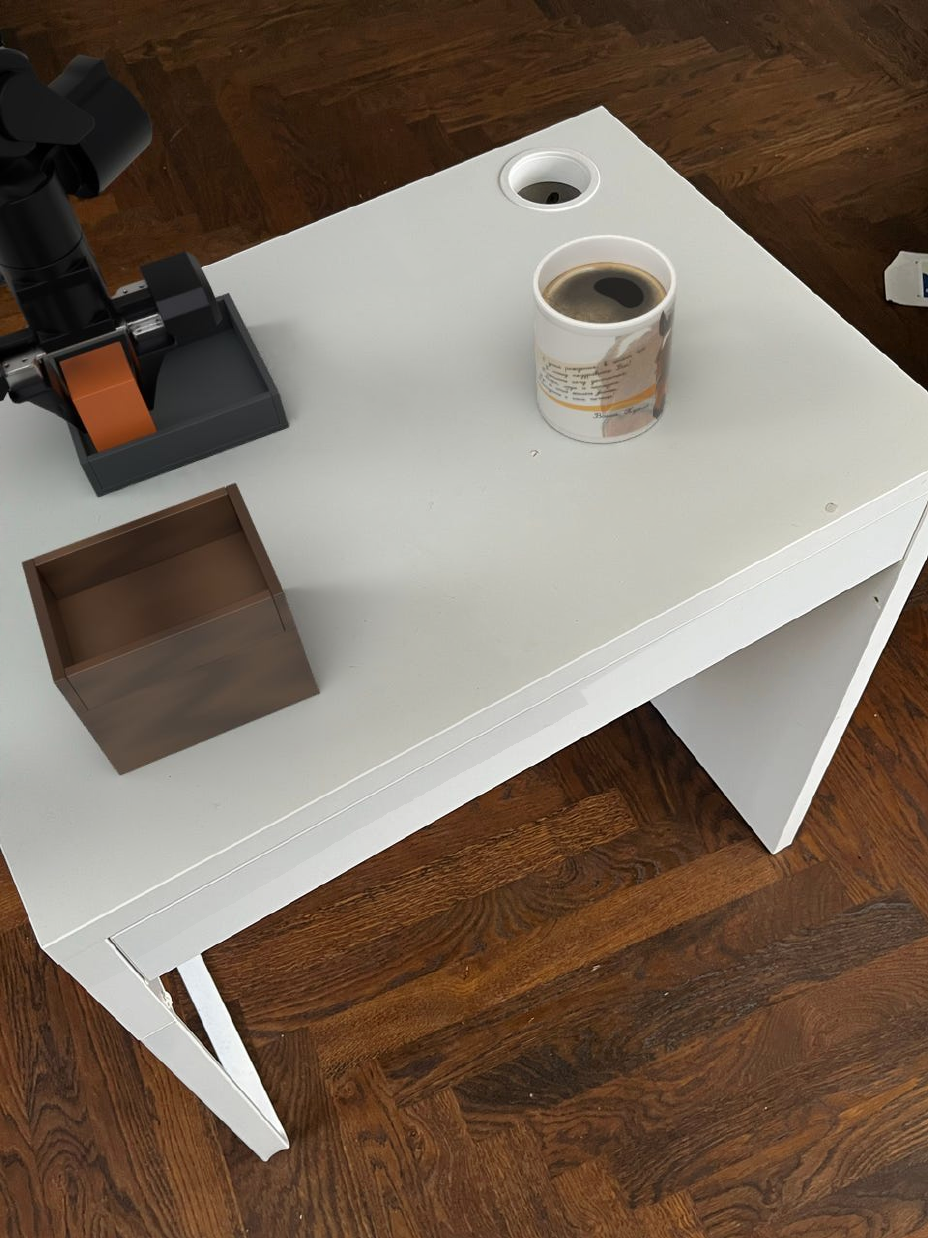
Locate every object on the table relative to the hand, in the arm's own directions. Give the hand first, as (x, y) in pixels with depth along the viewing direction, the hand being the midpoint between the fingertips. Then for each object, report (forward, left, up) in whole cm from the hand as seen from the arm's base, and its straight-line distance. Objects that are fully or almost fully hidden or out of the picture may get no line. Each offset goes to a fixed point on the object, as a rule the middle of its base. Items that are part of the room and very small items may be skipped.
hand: (118, 417), depth 85 cm
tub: (+4, +3, -3) cm, 6 cm away
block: (0, 0, -1) cm, 1 cm away
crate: (-1, -23, -3) cm, 23 cm away
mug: (+35, -12, -4) cm, 37 cm away
